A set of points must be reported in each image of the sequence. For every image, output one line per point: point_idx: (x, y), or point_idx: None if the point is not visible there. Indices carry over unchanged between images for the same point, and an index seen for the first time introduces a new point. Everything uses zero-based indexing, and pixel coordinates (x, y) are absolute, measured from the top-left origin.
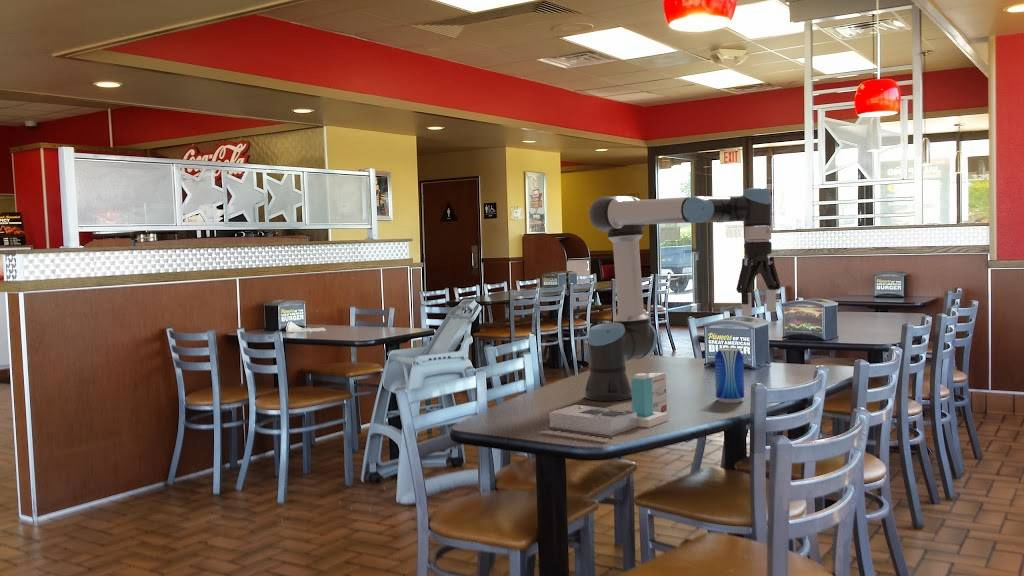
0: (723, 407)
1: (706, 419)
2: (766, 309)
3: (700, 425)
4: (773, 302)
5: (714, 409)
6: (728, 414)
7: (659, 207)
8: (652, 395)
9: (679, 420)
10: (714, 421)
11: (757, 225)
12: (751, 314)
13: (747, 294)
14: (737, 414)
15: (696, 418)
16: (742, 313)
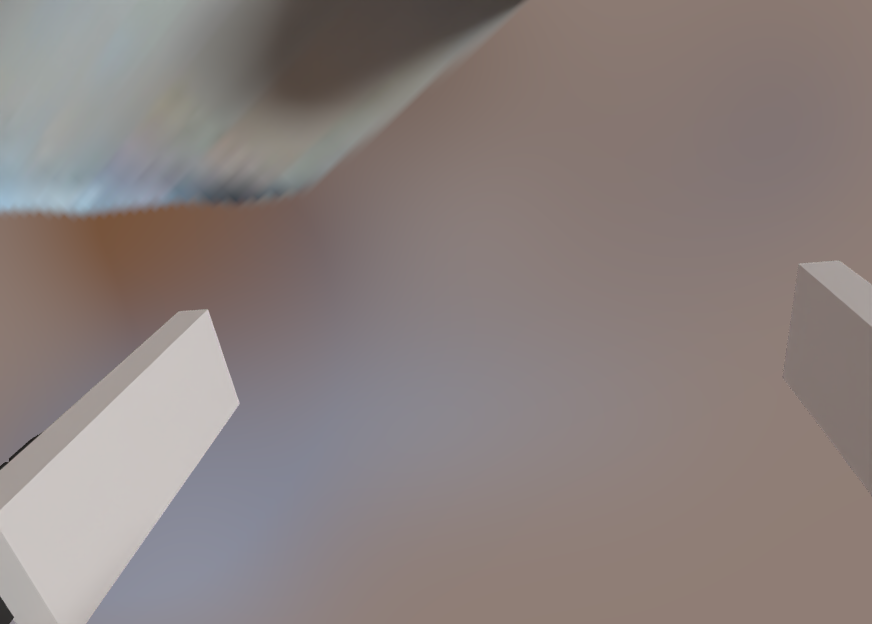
0: (363, 16)
1: (141, 139)
2: (812, 276)
3: (65, 192)
4: (850, 446)
5: (299, 17)
6: (270, 141)
7: None
8: None
9: (42, 69)
10: (145, 185)
11: None
12: (231, 411)
13: (13, 598)
14: (298, 168)
15: (120, 95)
16: (168, 330)
